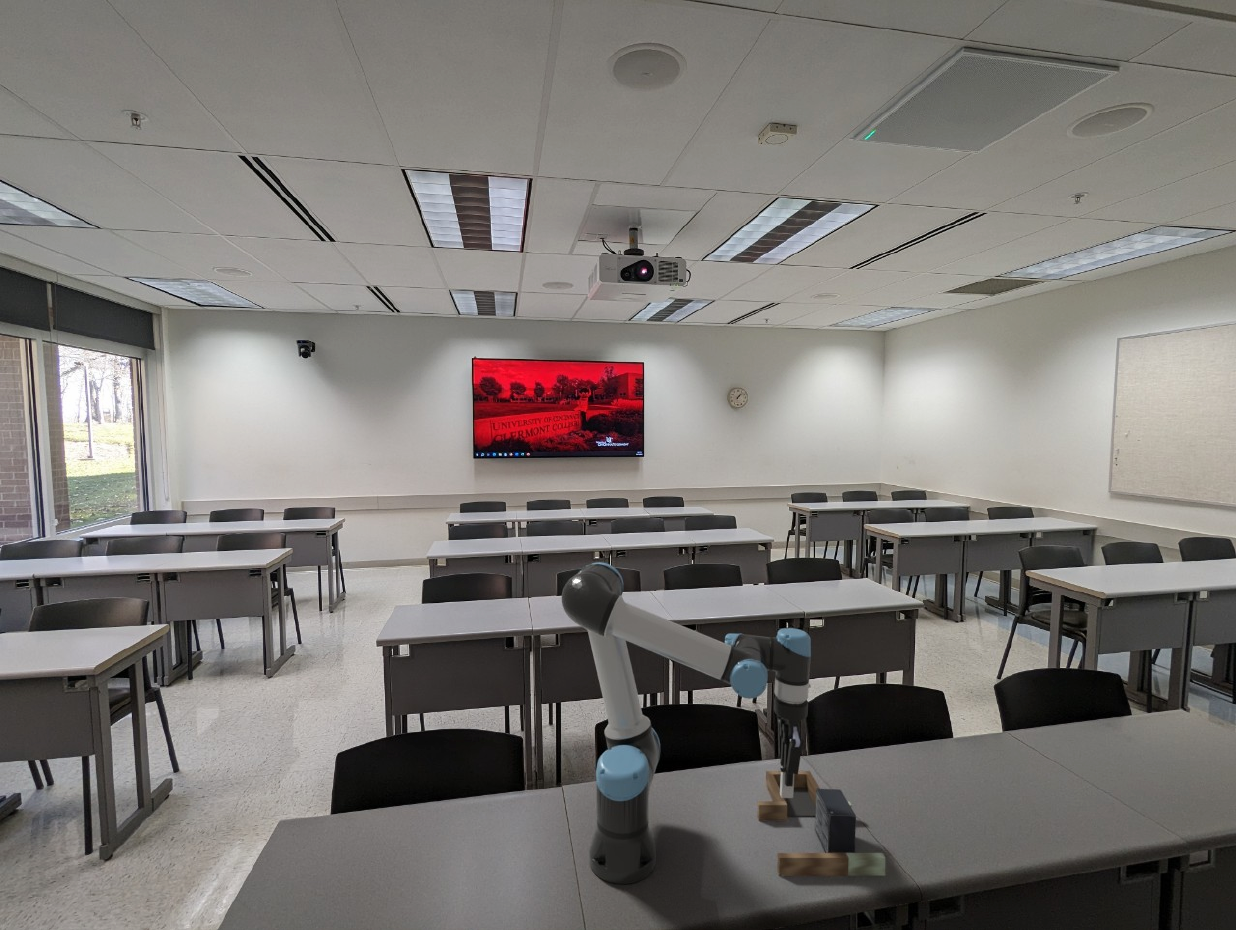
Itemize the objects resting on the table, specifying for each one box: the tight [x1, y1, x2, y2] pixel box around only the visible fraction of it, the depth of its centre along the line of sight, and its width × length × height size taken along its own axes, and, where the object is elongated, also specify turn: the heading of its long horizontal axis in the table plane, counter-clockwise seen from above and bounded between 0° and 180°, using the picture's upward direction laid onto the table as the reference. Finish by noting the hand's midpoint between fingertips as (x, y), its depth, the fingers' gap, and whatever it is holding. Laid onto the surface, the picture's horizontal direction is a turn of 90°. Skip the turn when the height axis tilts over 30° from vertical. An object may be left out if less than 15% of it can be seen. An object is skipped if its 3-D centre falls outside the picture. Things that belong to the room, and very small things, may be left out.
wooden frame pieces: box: [756, 770, 886, 877], centre depth 146 cm, size 23×34×4 cm
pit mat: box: [779, 787, 816, 818], centre depth 155 cm, size 9×12×1 cm
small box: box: [814, 788, 857, 853], centre depth 139 cm, size 11×6×10 cm, turn 178°
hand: (786, 795), depth 139 cm, fingers closed
